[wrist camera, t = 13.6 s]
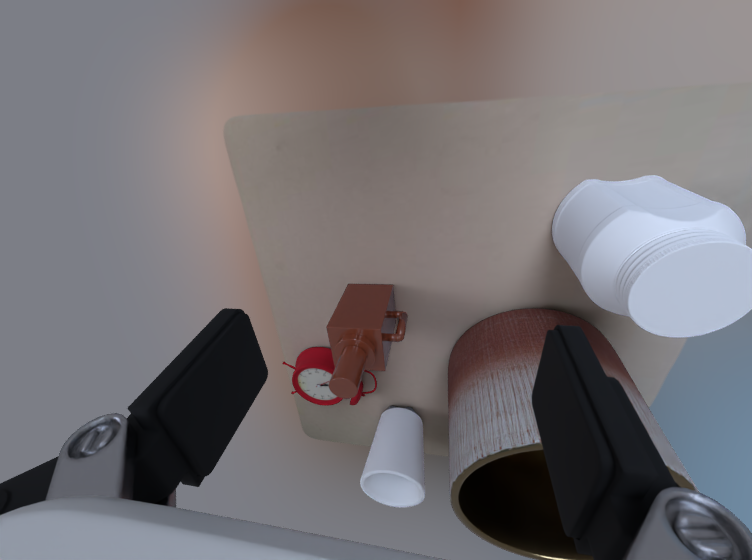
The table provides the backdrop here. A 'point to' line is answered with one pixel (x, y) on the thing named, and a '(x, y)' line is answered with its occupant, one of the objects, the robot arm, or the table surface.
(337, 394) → the brown handled box
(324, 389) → the alarm clock
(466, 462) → the planter
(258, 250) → the table surface
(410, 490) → the cup
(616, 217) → the jar
